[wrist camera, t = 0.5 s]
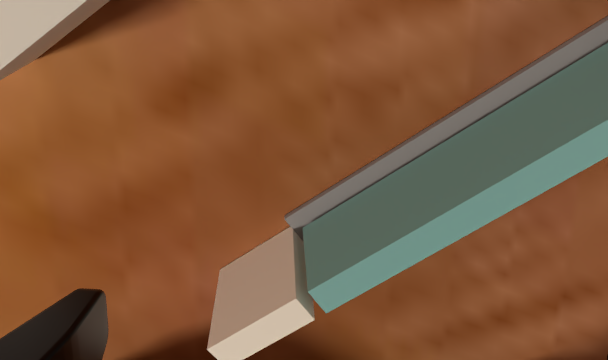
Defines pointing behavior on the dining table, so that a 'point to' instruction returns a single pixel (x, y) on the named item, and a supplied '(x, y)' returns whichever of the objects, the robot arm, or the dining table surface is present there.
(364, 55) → the dining table surface
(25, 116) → the dining table surface
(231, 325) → the door frame
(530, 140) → the long teal plank
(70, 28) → the block
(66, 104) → the dining table surface
